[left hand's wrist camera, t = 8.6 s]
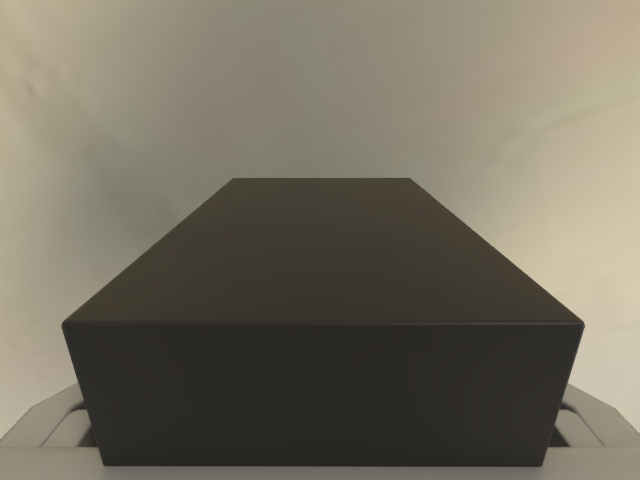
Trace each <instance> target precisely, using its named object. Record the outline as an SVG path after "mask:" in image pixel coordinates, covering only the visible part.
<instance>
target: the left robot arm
mask: <svg viewBox="0 0 640 480" xmlns="http://www.w3.org/2000/svg"><path fill="white" fill-rule="evenodd" d="M0 480H640V434H639V433H638V432H637V430H636V429H635V428H634V427H633V426H632V425H631V424H630V423H629V422H628V421H627V420H626V419H625V418H624V417H623V416H622V415H621V414H620V413H619V412H618V411H617V410H616V409H615V408H613V407H612V406H610V405H608V404H606V403H604V402H602V401H600V400H598V399H596V398H595V397H593V396H591V395H589V394H587V393H585V392H583V391H581V390H580V389H578V388H576V387H574V386H572V385H570V384H568V383H567V386H566V390H565V393H564V396H563V399H562V403H561V406H560V409H559V413H558V416H557V419H556V422H555V426H554V429H553V432H552V436H551V439H550V442H549V445H548V449H547V452H546V455H545V459H544V462H543V465H542V466H541V467H256V466H104V465H103V463H102V459H101V456H100V453H99V449H98V446H97V443H96V439H95V436H94V433H93V429H92V426H91V423H90V419H89V416H88V413H87V410H86V406H85V403H84V400H83V396H82V393H81V390H80V386H79V383H76V384H74V385H72V386H70V387H69V388H67V389H65V390H63V391H61V392H59V393H57V394H55V395H54V396H52V397H50V398H48V399H46V400H44V401H42V402H41V403H39V404H37V405H35V406H33V407H31V408H30V409H29V410H28V411H27V412H26V413H25V414H24V415H23V416H22V417H21V418H20V419H19V420H18V421H17V423H16V424H15V425H14V426H13V427H12V428H11V429H10V430H9V431H8V432H7V433H6V434H5V435H4V436H3V437H2V438H1V439H0Z"/></svg>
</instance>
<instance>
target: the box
mask: <svg viewBox="0 0 640 480" xmlns="http://www.w3.org/2000/svg"><path fill="white" fill-rule="evenodd" d="M584 327H585V325H584V322H583V321H582V320H581V319H580V318H579V317H577V316H576V315H575V314H574V313H573V312H571V311H570V310H569V309H568V308H566V307H565V306H564V305H563V304H562V303H560V302H559V301H558V300H557V299H556V298H554V297H553V296H552V295H551V294H550V293H548V292H547V291H546V290H545V289H543V288H542V287H541V286H540V285H539V284H537V283H536V282H535V281H534V280H533V279H531V278H530V277H529V276H528V275H527V274H525V273H524V272H523V271H522V270H520V269H519V268H518V267H517V266H516V265H514V264H513V263H512V262H511V261H510V260H508V259H507V258H506V257H505V256H504V255H502V254H501V253H500V252H499V251H497V250H496V249H495V248H494V247H493V246H491V245H490V244H489V243H488V242H487V241H485V240H484V239H483V238H482V237H481V236H479V235H478V234H477V233H476V232H475V231H473V230H472V229H471V228H470V227H468V226H467V225H466V224H465V223H464V222H462V221H461V220H460V219H459V218H458V217H456V216H455V215H454V214H453V213H452V212H450V211H449V210H448V209H447V208H445V207H444V206H443V205H442V204H441V203H439V202H438V201H437V200H436V199H435V198H433V197H432V196H431V195H430V194H429V193H427V192H426V191H425V190H424V189H422V188H421V187H420V186H419V185H418V184H416V183H415V182H414V181H413V180H412V179H410V178H233V179H232V180H230V181H229V182H228V183H227V184H226V185H224V186H223V187H222V188H221V189H220V190H219V191H217V192H216V193H215V194H214V195H213V196H211V197H210V198H209V199H208V200H207V201H205V202H204V203H203V204H202V205H201V206H200V207H198V208H197V209H196V210H195V211H194V212H192V213H191V214H190V215H189V216H188V217H186V218H185V219H184V220H183V221H182V222H181V223H179V224H178V225H177V226H176V227H175V228H173V229H172V230H171V231H170V232H169V233H168V234H166V235H165V236H164V237H163V238H162V239H160V240H159V241H158V242H157V243H156V244H154V245H153V246H152V247H151V248H150V249H149V250H147V251H146V252H145V253H144V254H143V255H141V256H140V257H139V258H138V259H137V260H135V261H134V262H133V263H132V264H131V265H130V266H128V267H127V268H126V269H125V270H124V271H122V272H121V273H120V274H119V275H118V276H116V277H115V278H114V279H113V280H112V281H111V282H109V283H108V284H107V285H106V286H105V287H103V288H102V289H101V290H100V291H99V292H98V293H96V294H95V295H94V296H93V297H92V298H90V299H89V300H88V301H87V302H86V303H84V304H83V305H82V306H81V307H80V308H79V309H77V310H76V311H75V312H74V313H73V314H71V315H70V316H69V317H68V318H67V319H65V320H64V321H63V323H62V330H63V333H64V337H65V340H66V343H67V347H68V350H69V353H70V357H71V360H72V363H73V366H74V370H75V373H76V376H77V380H78V383H79V386H80V390H81V393H82V396H83V400H84V403H85V406H86V410H87V413H88V416H89V419H90V423H91V426H92V429H93V433H94V436H95V439H96V443H97V446H98V449H99V453H100V456H101V459H102V463H103V465H104V466H256V467H541V466H542V465H543V462H544V459H545V455H546V452H547V449H548V445H549V442H550V439H551V436H552V432H553V429H554V426H555V422H556V419H557V416H558V413H559V409H560V406H561V403H562V399H563V396H564V393H565V390H566V386H567V383H568V380H569V377H570V373H571V370H572V367H573V363H574V360H575V357H576V354H577V350H578V347H579V344H580V340H581V337H582V334H583V331H584Z"/></svg>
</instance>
